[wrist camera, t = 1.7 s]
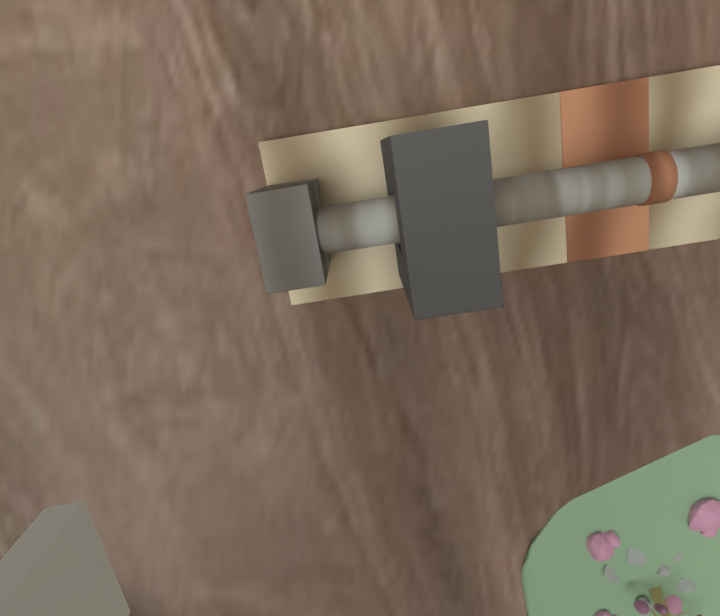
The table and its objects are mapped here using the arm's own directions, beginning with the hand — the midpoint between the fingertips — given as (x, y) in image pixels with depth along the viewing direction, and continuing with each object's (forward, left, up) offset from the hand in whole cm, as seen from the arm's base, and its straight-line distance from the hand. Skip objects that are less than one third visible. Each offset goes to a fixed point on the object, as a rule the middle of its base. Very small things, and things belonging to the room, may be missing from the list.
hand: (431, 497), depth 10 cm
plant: (+19, -27, -26) cm, 42 cm away
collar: (+3, +3, -23) cm, 24 cm away
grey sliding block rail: (+9, +3, -25) cm, 27 cm away
